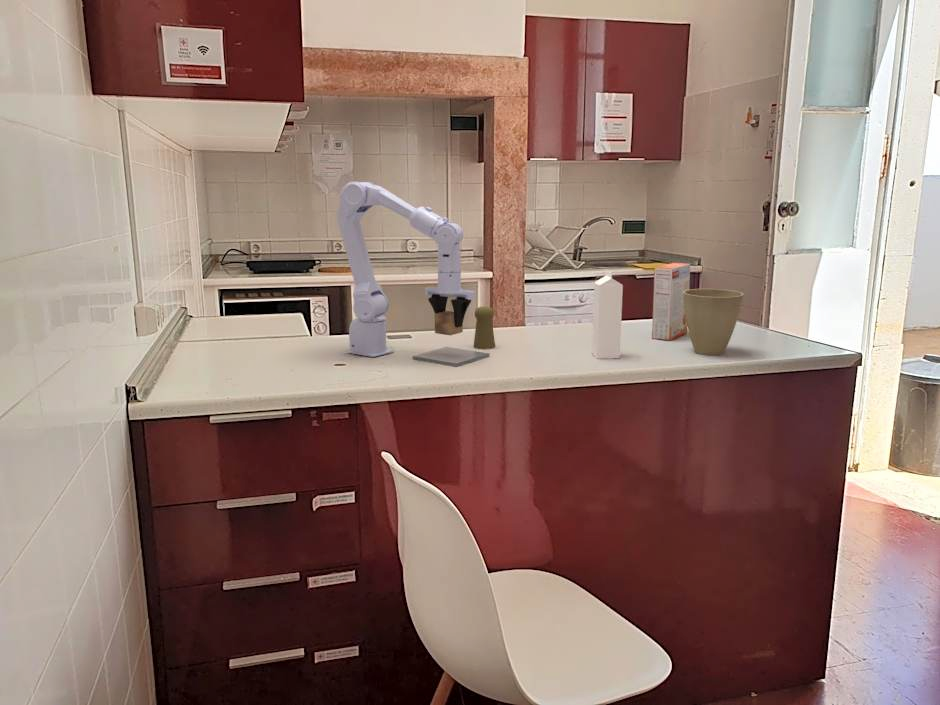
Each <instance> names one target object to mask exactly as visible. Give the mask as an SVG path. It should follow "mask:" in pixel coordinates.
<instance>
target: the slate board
mask: <svg viewBox="0 0 940 705" xmlns="http://www.w3.org/2000/svg"><path fill="white" fill-rule="evenodd" d="M488 357H490V353H488V352H483V351H477V350H470V349H463V348H456V347H452V346H451V347H450V346H445V347H442V348H438V349H433V350H430V351H427V352H423V353H419V354H416V355H412V360H415V359H417V361H421V360H422V362H427V361H428V363H432V362H433V363H434V364H438V363H439V365H444V364H445V366H449V367H450V366H451V367H455V366H456V368H457V367H460V366H464V365H466V364H470V363H473V362H476V361H479V360H482V359H485V358H488ZM463 364H464V365H463Z"/></svg>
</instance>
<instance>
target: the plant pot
mask: <svg viewBox="0 0 940 705" xmlns="http://www.w3.org/2000/svg"><path fill="white" fill-rule="evenodd" d="M683 297H684V307H685V315H686V321H687V332H688V335H689V337H690V342H691V345H692V349H693V350H694V353H697V354H699V355H705V356H719V355H720V356H721V355H723V354H724V353H725V351H726V350H727V347H728V345H729V343H730V340H731V338H732V335H733V333H734V330H735V328H736V326H737V325H736V324H737V321H738V318H739V315H740V311H741V307H742V304H743V298H744V292H740V291H738V290H729V289H721V288H719V289H718V288H693V289H689V290H685V291H683Z"/></svg>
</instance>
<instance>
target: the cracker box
mask: <svg viewBox="0 0 940 705" xmlns="http://www.w3.org/2000/svg"><path fill="white" fill-rule="evenodd" d="M653 271H654V273H653V274H654V275H653V276H654V277H653V296H652V297H653V302H652V306H653V307H652V328H651V329H652V331H651V339H652V340H658V339H661V340H662V341H672V340H674V339H677V338H679V337H681V336H683V335H686V334H687V333H688V326H687V321H686V315H685V307H684V297H683V291H685V290H690V279H691V278H690V277H691V263H687V262H686V263H685V262H684V263H683V262H672V263H666V264H664V265H658V266H656V267H654V270H653ZM661 340H660V341H661Z"/></svg>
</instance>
